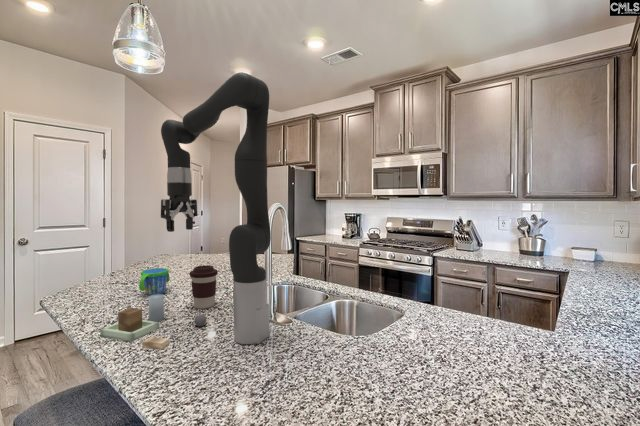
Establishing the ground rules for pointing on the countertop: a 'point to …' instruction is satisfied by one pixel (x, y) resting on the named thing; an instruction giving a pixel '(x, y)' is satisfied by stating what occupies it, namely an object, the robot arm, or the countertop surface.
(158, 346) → the beech domino
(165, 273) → the snack cup
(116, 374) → the countertop surface
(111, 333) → the sage tray
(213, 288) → the coffee cup
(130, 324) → the walnut block
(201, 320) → the rubber ball
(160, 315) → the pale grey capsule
